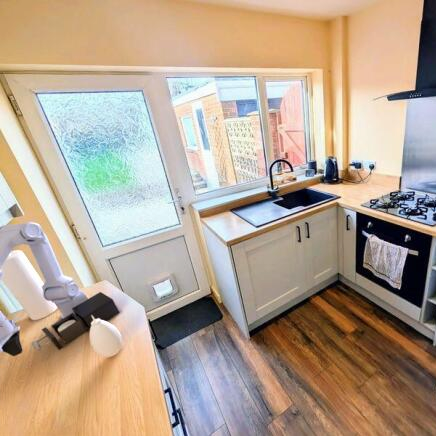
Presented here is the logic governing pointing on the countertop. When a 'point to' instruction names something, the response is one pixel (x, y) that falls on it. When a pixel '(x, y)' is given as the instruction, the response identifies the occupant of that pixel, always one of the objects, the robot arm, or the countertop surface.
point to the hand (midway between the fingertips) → (18, 353)
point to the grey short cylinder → (66, 325)
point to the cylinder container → (26, 285)
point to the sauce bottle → (105, 338)
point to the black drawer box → (96, 309)
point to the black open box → (62, 332)
